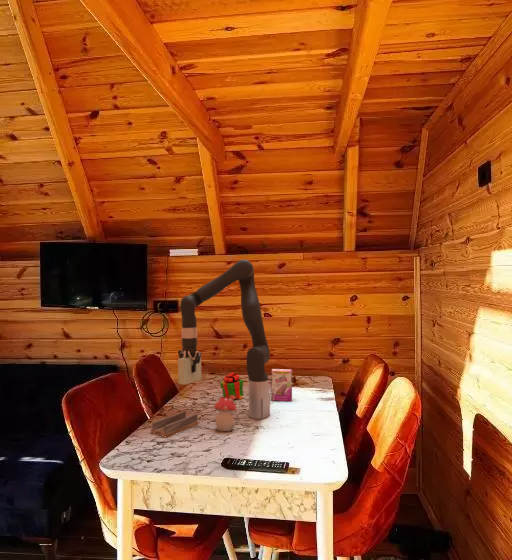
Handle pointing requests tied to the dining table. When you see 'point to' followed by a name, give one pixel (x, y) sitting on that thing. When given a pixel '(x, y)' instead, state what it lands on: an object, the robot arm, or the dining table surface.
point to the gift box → (232, 386)
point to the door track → (174, 424)
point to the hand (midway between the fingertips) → (189, 371)
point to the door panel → (188, 371)
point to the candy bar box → (281, 385)
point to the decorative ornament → (225, 413)
